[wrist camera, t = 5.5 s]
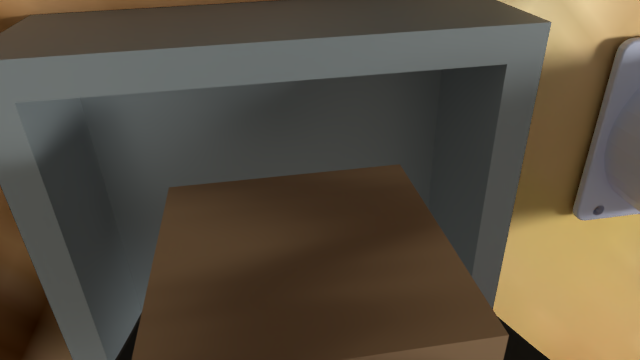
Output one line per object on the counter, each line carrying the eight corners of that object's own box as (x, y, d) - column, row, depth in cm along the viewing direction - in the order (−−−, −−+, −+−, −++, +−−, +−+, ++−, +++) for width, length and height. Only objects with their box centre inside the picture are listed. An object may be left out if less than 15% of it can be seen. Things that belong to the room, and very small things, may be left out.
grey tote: (469, -11, 17) (551, 22, 12) (425, 354, 26) (464, 445, 21) (30, 14, 15) (-51, 63, 11) (150, 395, 24) (132, 504, 20)
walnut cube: (399, 164, 11) (508, 335, 7) (389, 326, 13) (464, 527, 9) (168, 187, 10) (123, 391, 6) (203, 352, 13) (189, 580, 9)
